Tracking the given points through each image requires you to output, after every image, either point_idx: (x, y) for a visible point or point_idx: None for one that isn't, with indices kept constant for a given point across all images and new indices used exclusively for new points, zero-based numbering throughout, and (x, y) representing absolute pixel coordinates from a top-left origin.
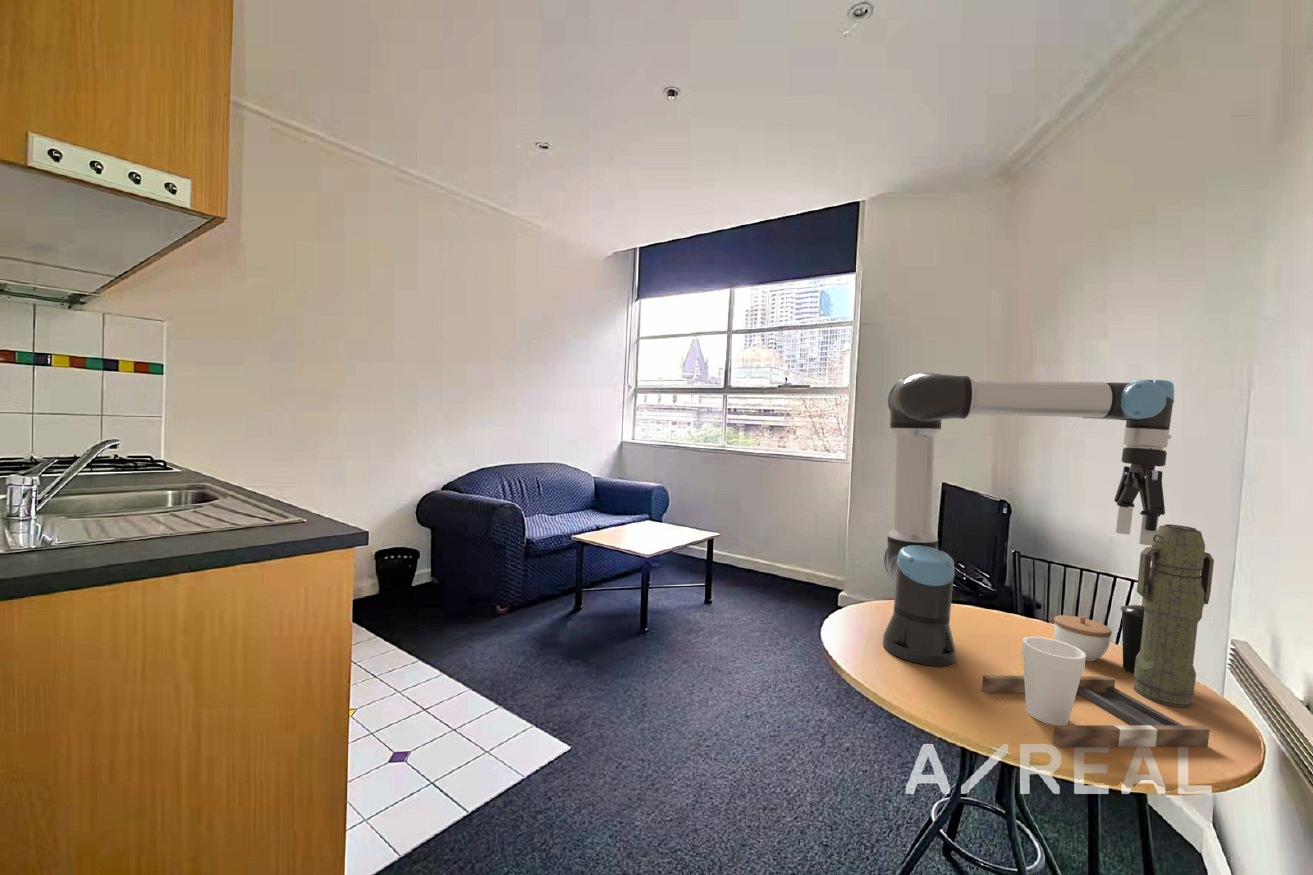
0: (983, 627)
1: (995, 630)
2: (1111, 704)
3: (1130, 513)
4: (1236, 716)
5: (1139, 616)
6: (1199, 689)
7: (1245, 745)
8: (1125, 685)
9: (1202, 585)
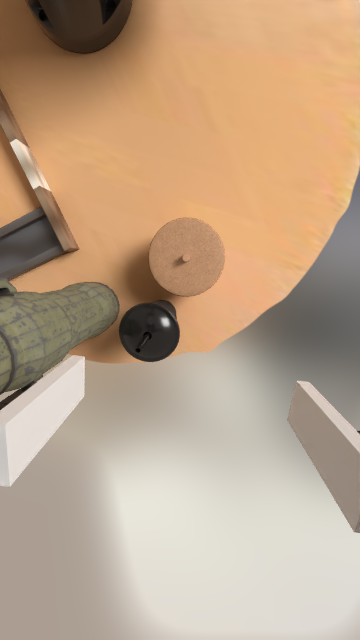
0: (252, 140)
1: (245, 159)
2: (12, 224)
3: (336, 490)
4: None
5: (123, 316)
6: None
7: None
8: (108, 278)
9: None
